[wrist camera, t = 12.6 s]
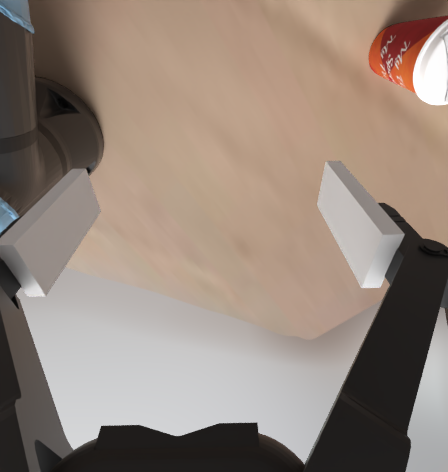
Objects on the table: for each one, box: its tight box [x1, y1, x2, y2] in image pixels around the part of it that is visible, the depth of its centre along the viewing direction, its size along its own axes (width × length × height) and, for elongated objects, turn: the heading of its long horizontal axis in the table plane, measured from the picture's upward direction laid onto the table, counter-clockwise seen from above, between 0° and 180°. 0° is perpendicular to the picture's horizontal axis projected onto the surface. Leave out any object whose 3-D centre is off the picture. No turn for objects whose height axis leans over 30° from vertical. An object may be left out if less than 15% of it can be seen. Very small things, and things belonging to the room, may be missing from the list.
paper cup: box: [369, 16, 448, 105], centre depth 30 cm, size 8×8×14 cm
